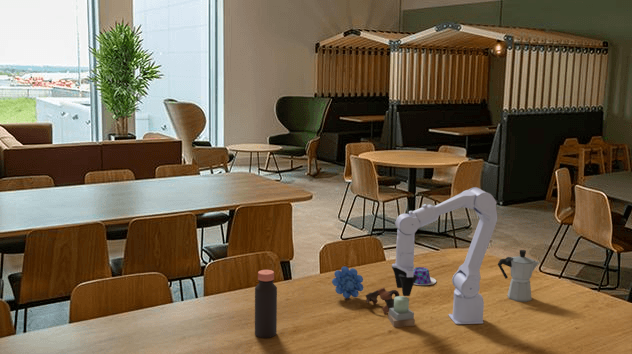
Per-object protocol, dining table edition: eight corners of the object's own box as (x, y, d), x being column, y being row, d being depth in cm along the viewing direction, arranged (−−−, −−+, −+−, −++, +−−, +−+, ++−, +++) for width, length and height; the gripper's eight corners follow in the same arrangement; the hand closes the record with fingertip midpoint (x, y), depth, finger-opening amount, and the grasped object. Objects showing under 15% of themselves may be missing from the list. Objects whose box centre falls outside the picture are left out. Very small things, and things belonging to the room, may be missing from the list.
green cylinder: (406, 307, 217) (406, 295, 216) (410, 312, 212) (410, 301, 211) (392, 307, 216) (392, 296, 215) (395, 313, 211) (396, 301, 211)
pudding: (402, 284, 252) (403, 271, 251) (407, 275, 263) (408, 262, 262) (434, 288, 249) (434, 275, 248) (437, 278, 260) (438, 266, 259)
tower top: (405, 312, 218) (405, 306, 218) (413, 318, 212) (414, 312, 212) (389, 313, 216) (389, 308, 216) (397, 320, 210) (397, 314, 210)
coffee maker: (534, 294, 243) (538, 247, 240) (540, 303, 234) (543, 254, 231) (493, 292, 244) (496, 245, 241) (497, 300, 236) (500, 252, 233)
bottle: (265, 327, 208) (265, 267, 204) (281, 333, 203) (281, 271, 200) (250, 334, 202) (250, 272, 199) (265, 340, 198) (266, 277, 195)
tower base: (408, 319, 219) (408, 312, 218) (414, 327, 212) (414, 320, 211) (387, 319, 217) (388, 312, 217) (393, 328, 211) (393, 320, 210)
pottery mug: (378, 317, 220) (368, 294, 221) (368, 319, 228) (359, 297, 230) (408, 303, 224) (398, 281, 225) (397, 306, 233) (388, 285, 234)
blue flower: (334, 303, 230) (334, 270, 228) (330, 296, 236) (330, 264, 234) (366, 301, 232) (367, 269, 230) (361, 295, 239) (362, 263, 237)
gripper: (387, 245, 217) (386, 284, 219) (398, 258, 203) (396, 299, 205) (408, 244, 218) (406, 283, 220) (420, 257, 204) (418, 299, 206)
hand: (403, 291), depth 213 cm, fingers open, 7 cm apart
